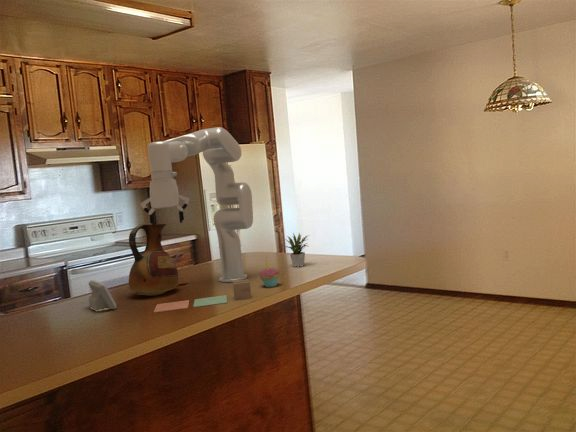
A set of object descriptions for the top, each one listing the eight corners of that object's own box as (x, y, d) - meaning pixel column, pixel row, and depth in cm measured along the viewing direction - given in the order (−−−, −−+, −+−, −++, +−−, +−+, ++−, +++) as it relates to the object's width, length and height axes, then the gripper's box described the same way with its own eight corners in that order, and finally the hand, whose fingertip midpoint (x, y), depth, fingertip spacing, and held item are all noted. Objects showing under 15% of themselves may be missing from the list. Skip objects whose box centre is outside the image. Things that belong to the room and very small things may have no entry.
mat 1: (157, 305, 196) (157, 304, 196) (189, 300, 197) (189, 300, 197) (153, 312, 184) (153, 312, 184) (187, 308, 185) (187, 307, 185)
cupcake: (278, 287, 204) (275, 257, 203) (257, 288, 206) (254, 259, 205) (283, 282, 213) (280, 254, 212) (262, 284, 214) (259, 255, 214)
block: (234, 296, 197) (232, 281, 196) (250, 294, 197) (248, 279, 197) (235, 300, 191) (233, 284, 190) (251, 298, 191) (249, 282, 191)
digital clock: (117, 310, 194) (114, 282, 193) (92, 315, 190) (88, 286, 189) (112, 302, 209) (109, 276, 208) (89, 306, 205) (85, 280, 204)
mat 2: (194, 300, 197) (194, 299, 197) (226, 295, 199) (226, 295, 199) (193, 307, 186) (193, 306, 186) (227, 303, 187) (227, 302, 187)
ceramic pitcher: (189, 290, 217) (180, 219, 215) (147, 301, 203) (137, 226, 201) (162, 286, 231) (154, 219, 229) (121, 297, 216) (112, 226, 214)
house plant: (315, 267, 239) (311, 232, 238) (285, 270, 239) (281, 235, 238) (313, 262, 253) (310, 229, 252) (285, 265, 254) (282, 232, 252)
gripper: (187, 174, 191) (192, 220, 192) (138, 179, 189) (144, 225, 190) (186, 174, 184) (191, 222, 185) (136, 178, 181) (141, 227, 182)
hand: (167, 223), depth 187 cm, fingers open, 9 cm apart
